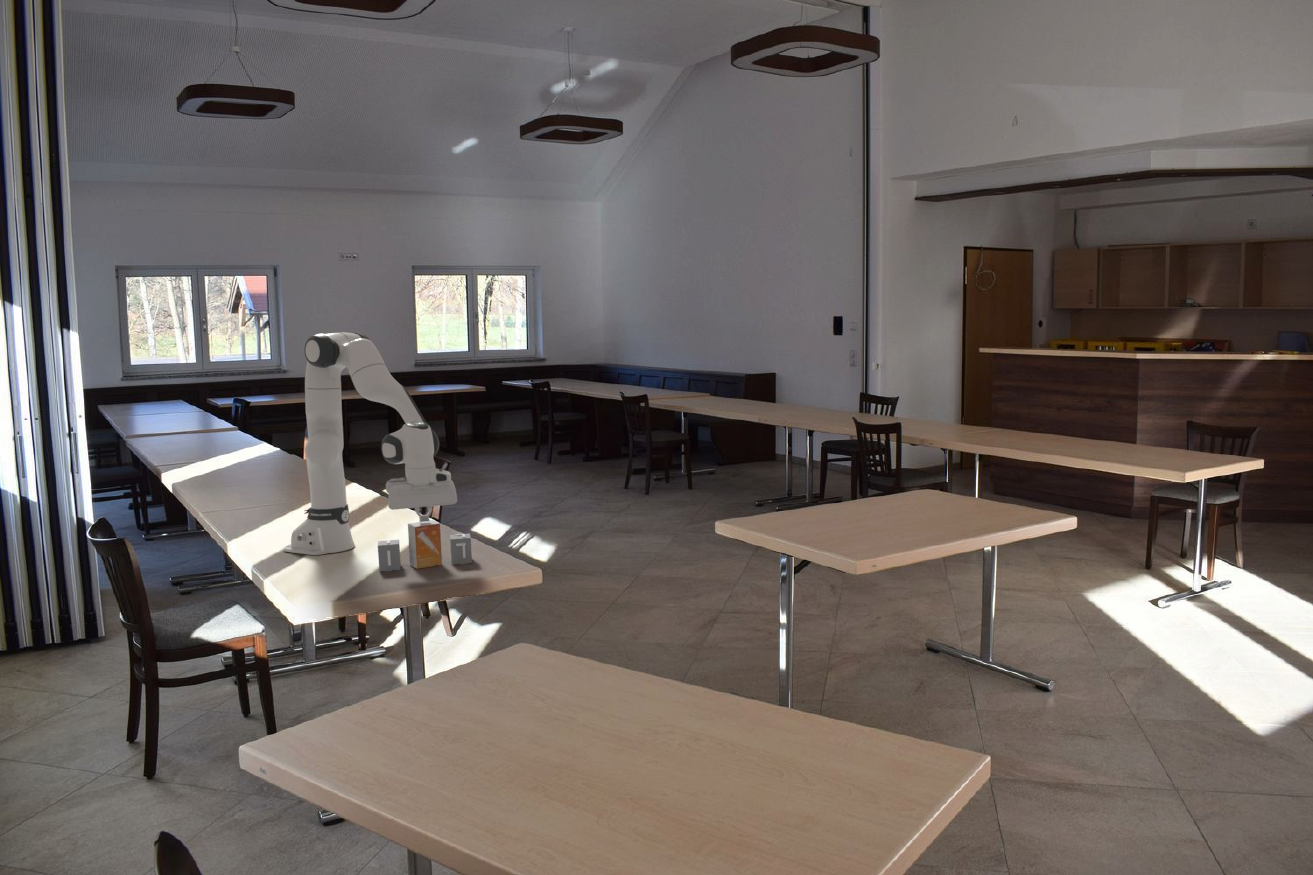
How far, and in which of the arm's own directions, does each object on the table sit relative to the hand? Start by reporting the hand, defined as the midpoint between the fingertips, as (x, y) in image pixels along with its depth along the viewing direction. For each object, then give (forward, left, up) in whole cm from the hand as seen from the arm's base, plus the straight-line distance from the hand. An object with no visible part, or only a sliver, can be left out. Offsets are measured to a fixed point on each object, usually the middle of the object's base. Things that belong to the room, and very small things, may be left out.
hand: (424, 521), depth 293 cm
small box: (0, 0, -14) cm, 14 cm away
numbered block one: (-9, -6, -14) cm, 17 cm away
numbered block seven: (+9, +5, -14) cm, 17 cm away
